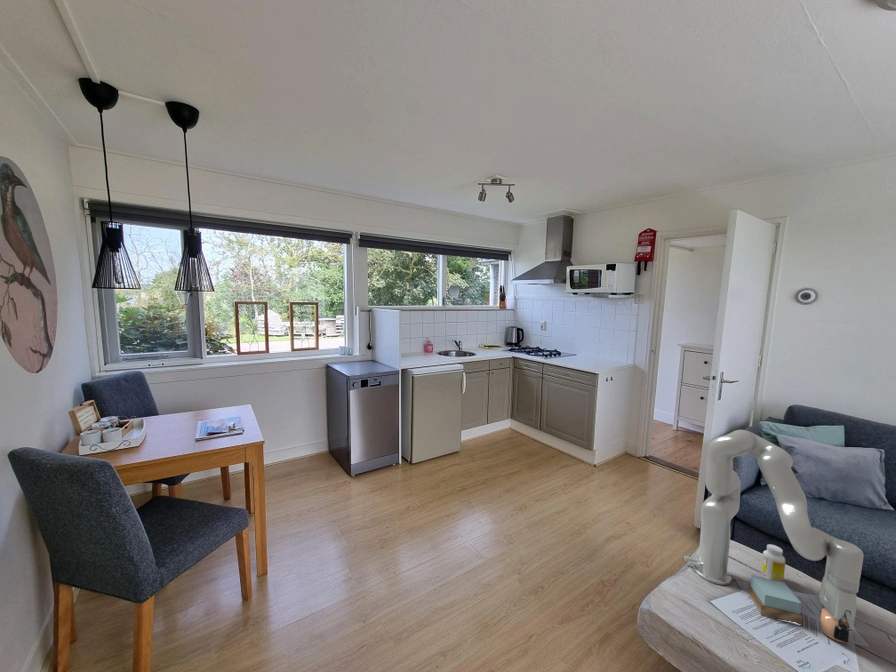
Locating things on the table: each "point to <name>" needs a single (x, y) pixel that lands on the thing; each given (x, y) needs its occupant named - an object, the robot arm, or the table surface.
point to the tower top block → (775, 594)
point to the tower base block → (773, 610)
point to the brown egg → (829, 623)
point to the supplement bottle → (773, 563)
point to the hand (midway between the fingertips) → (833, 630)
